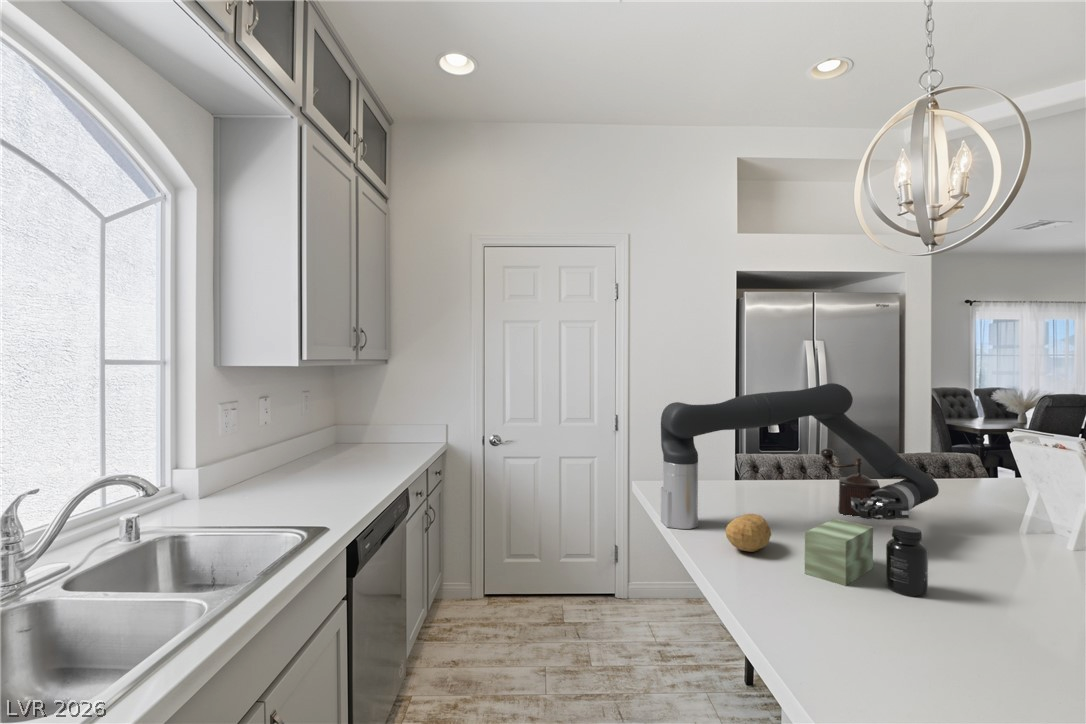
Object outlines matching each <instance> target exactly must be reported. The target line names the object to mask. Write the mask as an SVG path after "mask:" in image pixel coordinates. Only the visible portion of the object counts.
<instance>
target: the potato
mask: <svg viewBox="0 0 1086 724" xmlns="http://www.w3.org/2000/svg"><path fill="white" fill-rule="evenodd" d="M725 535H726V539H727V540H728V542H730V544H731V545H732V546H733V547H734V548H736V549H738V550H739V551H745V552H749V553H751V552H752V553H754V552H757V551H758V550H761V549H762V548H764V547H767V546H768V544H769V541H770V540H771V539H770V538H771V536H772V530H771V528H770V526H769V524H768V522H767V520H766V519H765V518H764V517H763V516H761V515H759V514H757V513H756V514H755V513H746V514H743V515H740V516H738V517H736V518H733V519H732V520H731V521H730V522H729V523H728V524H727V525H726V527H725Z"/></svg>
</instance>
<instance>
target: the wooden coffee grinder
mask: <svg viewBox="0 0 1086 724" xmlns="http://www.w3.org/2000/svg"><path fill="white" fill-rule="evenodd" d="M819 454H820V456H821V457H822V459H824V464H826V465H828V466H829V467H831V468H852V467H856V466H857V467H856V469H857V472H855V473H853V474H851V475H848V476H839V478H838V506H837V509H838V513H839V515H840V514H843V515H842V516H846V515H852V516H851V517H854V516H860V515H859V513H858V512H857V511H855V510H854V509H853V508H852V507H851V497H856V498H857V499H860V501H863V499H864V498H869V496H870V495H871V493H872V492H873V491H875V490H877V489H879V488H881V486H880V483H879V481H878V480H877V479H872V478H869V477H868V476H866V475H865V474H862V472H861V471H862V470H861V469H862V467H861V465H862V457H859V456H858V457H856V462H854V463H844V464H835V460H834V459H833V458H834V454H835V451H834V450H833V449H832V448H828V447H827V448H823V449H821V450H820V453H819ZM859 518H861V516H860V517H859ZM873 518H878V519H877V520H881V517H873Z"/></svg>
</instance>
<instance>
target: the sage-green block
mask: <svg viewBox="0 0 1086 724" xmlns="http://www.w3.org/2000/svg"><path fill="white" fill-rule="evenodd" d="M873 565H874V526H871V525H865V524H860V523H856V522H851V521H847V520H842V519H837V518H832V519H830V520H829V521H828V520H827V521H826V522H824V523H822V524H819V525H817V526H814V527H813V528H811V529H808V530H807V531H804V575H806V576H810V577H813V578H818V579H820V580H824V581H827V582H830V583H833V584H836V583H837V585H841V586H844V587H846V585H847V586H848V585H850V584H851V583H852V582H854V581H855V580H857V579H858V578H860V577H861V576H863V575H864V574H866V573H867V572H869V571H870V570H871V569H873V568H874V567H873ZM865 572H866V573H865ZM856 578H857V579H856ZM850 582H851V583H850Z"/></svg>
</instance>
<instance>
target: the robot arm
mask: <svg viewBox="0 0 1086 724" xmlns="http://www.w3.org/2000/svg"><path fill="white" fill-rule="evenodd" d="M853 400H854V399H853V395H852V393H851V391H850V389H848V388H847V387H845V386H844V385H841V384H838V383H833V382H830V383H825V384H822V385H818V386H814V387H810V388H809V387H808V388H805V389H798V390H783V391H769V392H759V393H751V394H745V395H739V396H736V397H732V398H730V399H727V400H725V401H723V402H718V403H717V402H716V403H711V404H710V403H709V404H708V403H707V404H690V403H686V402H685V403H684V402H678V401H677V402H676V401H675V402H672V403H669V404H668V405H666V406H665V408H664V409H663V411H662V413H661V417H660V446H661V451H662V455H663V456H662V457H663V462H662V463H663V470H662V471H663V473H662V475H663V476H662V479H663V481H662V482H663V483H662V486H661V488H660V522H661V523H662V524H663V525H664V526H665V527H666V528H674V529H679V530H689V529H695V528H697V527H698V525H699V515H698V514H699V513H698V512H699V508H698V507H699V505H698V504H699V453H698V450H697V448H696V446H695V445H696V444H695V441H694V437H698V436H701V435H706V434H710V433H714V432H719V431H730V430H733V431H734V430H737V431H738V430H746V429H747V430H748V429H756V428H757V429H759V428H765V427H770V426H774V425H775V426H776V425H779V424H783V423H786V422H789V421H792V420H797V419H801V418H804V417H805V418H806V417H811V416H812V417H813V418H814V419H816V421H818V422H819V423H821V424H822V425H823V426H824V427H826V428H827V429H829V431H831V432H832V433H834V434H835V435H836V436H838V438H840V439H841V440H842V441H844V442H845V443H846V444H847V445H848V446H849V447H851V448H853V450H854V451H856V452H857V454H859V455H860V456H861V458H863V459H864V460H865V461H866V462H867V463H868V464H869V465H870V466H871V467H872V468H873V469H874V471H876V472H877V473H878V474H879V475H880V476H881V477H882V478H884V479H887V480H888V479H889V480H890V479H893V478H900V477H901V478H904V479H901V480H900V481H896V482H894V483H891V484H887V485H883V486H882V487H881V486H880V488H879V489H877V490H875V491H873V492H872V493H871V495H870V496H869V498H864V499H863V501H860V499H857V498H856V497H851V507H852V508H853V509H854V510H855V511H857V512H858V513H859V515H860V516H861V517H860V518H861V519H865V520H870V519H872V518H873V517H880V519H885V520H895V519H909V518H910V517H909V516H910V511H911V510H912V509H914V508H915V507H918V506H919V505H920V504H923V503H926V502H927V501H930V500H932V499H934V498H935V497H937V496H938V495H939V492H940V491H939V490H940V489H939V485H938V483H937V482H936V481H935V479H933V477H931V476H930V475H929V474H927V473H926V472H924V471H922V470H921V469H919V468H917V467H916V466H914V465H913V464H911V463H909V462H908V461H906V460H905V459H903V458H902V456H901V455H899V453H897V452H896V451H895V450H894V449H893V447H891V446H890V445H889V444H888V443H887V442H886V441H885V440H883V439H882V438H881V437H879V436H878V435H875V434H874V433H872V432H870V431H869V430H868V429H867V430H866V429H865V428H863V427H862V426H861V425H858V424H857V423H856V422H854V421H853V420H852V419H850V418H849V417H848V416H847V415H846V414H845V413H847V412H848V411H849V410H850V409H851V407H852V405H853Z"/></svg>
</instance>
